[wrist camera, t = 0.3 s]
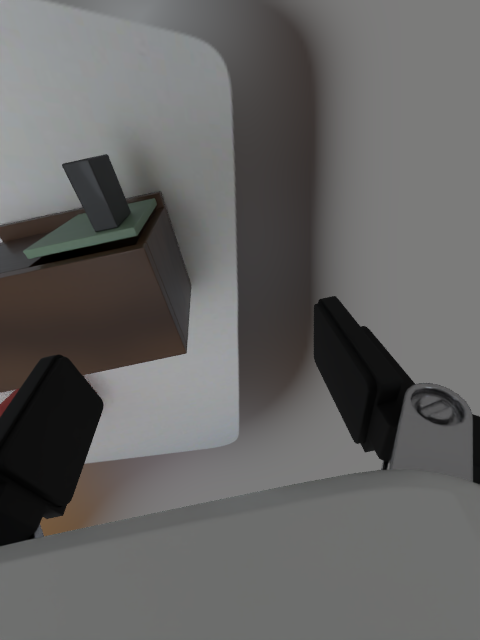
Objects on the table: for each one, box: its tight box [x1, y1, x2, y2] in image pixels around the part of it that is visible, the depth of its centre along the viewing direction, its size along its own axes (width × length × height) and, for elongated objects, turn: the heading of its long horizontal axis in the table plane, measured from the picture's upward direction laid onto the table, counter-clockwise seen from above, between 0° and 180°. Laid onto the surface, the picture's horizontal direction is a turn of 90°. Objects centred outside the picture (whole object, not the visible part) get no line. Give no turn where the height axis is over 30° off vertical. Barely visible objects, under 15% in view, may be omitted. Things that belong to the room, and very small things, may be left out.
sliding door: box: [23, 154, 157, 259], centre depth 20 cm, size 5×7×9 cm, turn 100°
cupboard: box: [0, 191, 191, 392], centre depth 24 cm, size 11×16×12 cm, turn 100°
